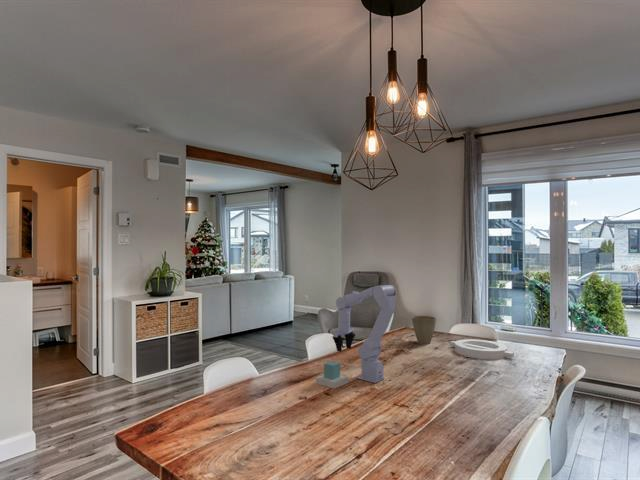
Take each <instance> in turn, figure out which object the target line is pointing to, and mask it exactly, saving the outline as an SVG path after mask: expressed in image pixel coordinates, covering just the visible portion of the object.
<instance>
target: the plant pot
mask: <svg viewBox="0 0 640 480" xmlns="http://www.w3.org/2000/svg"><path fill="white" fill-rule="evenodd" d="M411 320H412V326H413V330H414V334H415V337H416V340H417V343H418V344H420V343H421V344H422V345H430V344H431V342H432V339H433V337H434V336H433V335H434V333H435V329H436V323H437V317H435V316H432V315H431V316H430V315H413V316H412V317H411Z"/></svg>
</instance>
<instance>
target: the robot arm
mask: <svg viewBox="0 0 640 480" xmlns="http://www.w3.org/2000/svg"><path fill="white" fill-rule="evenodd" d="M397 296H398V293H397V289H396V287H395V286H394V285H392V284H385V285H375V286H371V287H368V288H366V289H365V290H363V291H361V292H359V291H356V290H353V291H351V293H350V294H345V295H344V296H339V297H337V298H336V301H335V306H336V307H337V309H338V310H337V311H338V317H337V320H338V325H337V326H338V327H337V329H336V331H334V332H333V335H332V339H333V341H334V343H335V347H336V348H335V349H336V351H337V352H340V353H341V352H342V350H343V343H344V339H345V347H346V349H352V345H353V341H354V339H355V337H356V333H355V328H353V327H351V312H352V308H353V306H357V305H359V304H361V303H362V301H363V300H364V299H365V300H366V299H367V298H373V299H374V300H375V301H376V303H377V304H378V306H379V307H380V310H379V313H378V316H377V317H376V320H375V322H374V325H373V327H372V328H371V332H370V334H369V336H368V338H366V339H365V340H364V341H363V343H362V344H361V345H360V346H359V347H358V349H357V353H358V355H359V358H360V360H361V375H360V376H357V379H358V380H362V381H366V382H370V383H374V384H376V383H378V382H380V381H382V380H384V379H385V377H384V363H383V361H381V360H379V356H380V355H381V353H382V347H383V343H382V342H381V341H382V338H383V337H384V335H385V332H386V330H387V328H388V326H389V323H390V321H391V318H392V317H393V315H394V312H395V309H396V298H397ZM343 336H344V337H343Z"/></svg>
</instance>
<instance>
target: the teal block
mask: <svg viewBox="0 0 640 480" xmlns="http://www.w3.org/2000/svg"><path fill="white" fill-rule="evenodd" d="M323 364H324V365H323V375H324V378H328V379H332V380H334V379H336V378H339V377H340V375H341V363H340V362H336V361H332V360H331V361H328V362H325V363H323Z"/></svg>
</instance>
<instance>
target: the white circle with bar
mask: <svg viewBox="0 0 640 480" xmlns="http://www.w3.org/2000/svg"><path fill="white" fill-rule="evenodd" d="M449 346H450V347H454V352H455V353H456V354H459V355H461V356H463V355H464V357H468V358H471V359H480V360H502V359H505V357H506V358H509V359H512V358H514V357H515V356H514V355H515V353H514V352H513V351H508V347H507V346H506V345H505V344H503V343H499V342H496V341H492V340H491V341H490V340H485V339H484V340H483V339H473V338H472V339H465V338H464V339H457V340H456V341H455V340H451V341H450V342H449ZM501 358H502V359H501Z"/></svg>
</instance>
